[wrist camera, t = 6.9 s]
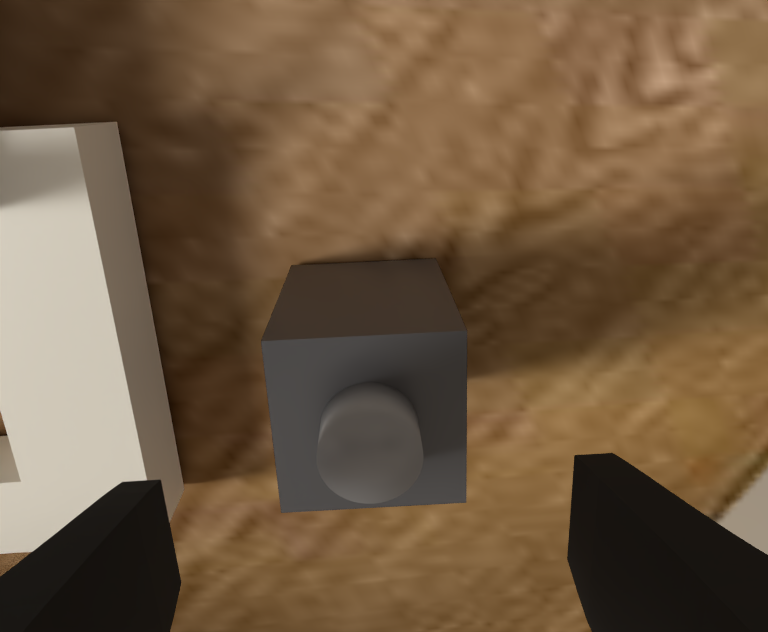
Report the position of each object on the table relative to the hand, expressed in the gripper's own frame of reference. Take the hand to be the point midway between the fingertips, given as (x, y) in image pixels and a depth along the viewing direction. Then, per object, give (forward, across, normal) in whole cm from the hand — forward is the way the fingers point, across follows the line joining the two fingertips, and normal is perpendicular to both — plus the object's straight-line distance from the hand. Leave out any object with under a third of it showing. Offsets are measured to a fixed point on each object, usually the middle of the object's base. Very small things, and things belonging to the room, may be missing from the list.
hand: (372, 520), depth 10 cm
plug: (+8, 0, 0) cm, 8 cm away
